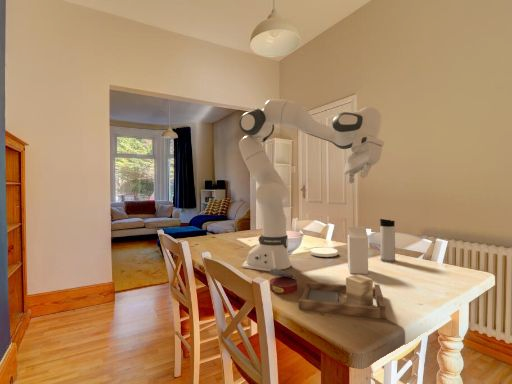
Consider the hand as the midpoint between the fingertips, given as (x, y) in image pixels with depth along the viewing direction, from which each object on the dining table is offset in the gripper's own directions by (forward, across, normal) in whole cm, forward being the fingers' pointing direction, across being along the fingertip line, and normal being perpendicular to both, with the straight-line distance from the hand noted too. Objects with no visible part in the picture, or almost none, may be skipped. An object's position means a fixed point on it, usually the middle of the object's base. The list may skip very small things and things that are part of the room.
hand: (356, 180), depth 104 cm
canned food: (+46, -8, -15) cm, 49 cm away
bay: (+43, +7, 0) cm, 44 cm away
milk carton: (+32, -19, +18) cm, 41 cm away
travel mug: (+22, -30, +37) cm, 53 cm away
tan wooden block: (+42, +9, +5) cm, 44 cm away
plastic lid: (+27, -48, +14) cm, 57 cm away
